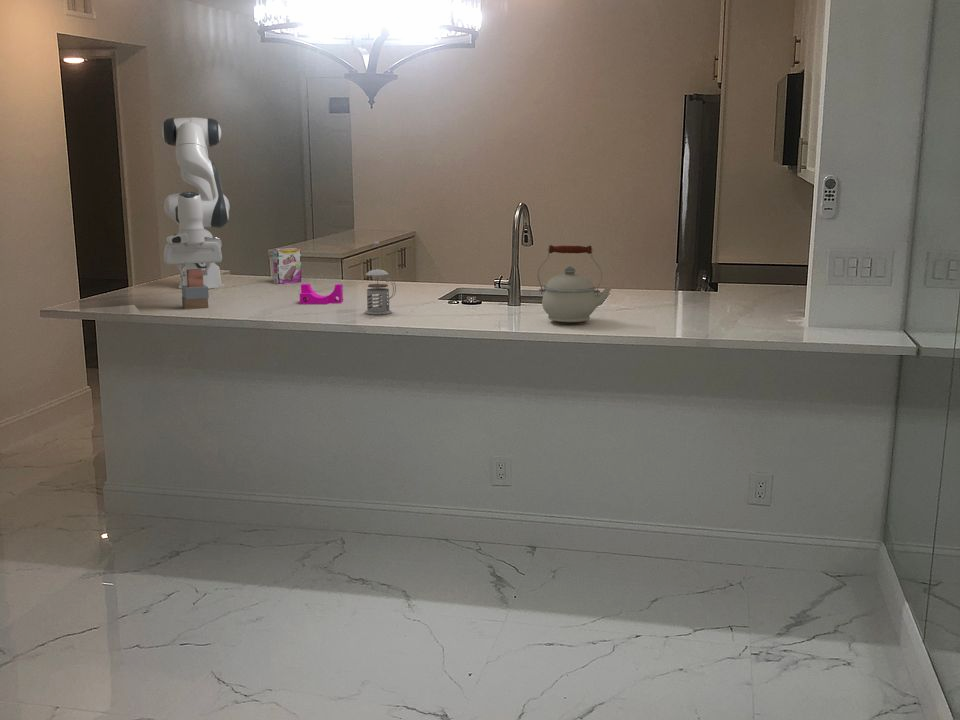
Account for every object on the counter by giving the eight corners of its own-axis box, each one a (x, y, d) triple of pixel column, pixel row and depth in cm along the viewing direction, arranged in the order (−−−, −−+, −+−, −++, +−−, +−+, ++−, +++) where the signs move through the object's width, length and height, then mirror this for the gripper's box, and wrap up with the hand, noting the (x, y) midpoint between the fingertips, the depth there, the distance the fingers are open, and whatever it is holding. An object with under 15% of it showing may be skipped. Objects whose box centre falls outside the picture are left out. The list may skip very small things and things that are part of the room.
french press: (372, 309, 340) (370, 240, 335) (401, 311, 336) (400, 241, 331) (359, 313, 331) (357, 242, 326) (389, 315, 327) (387, 243, 322)
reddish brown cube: (187, 285, 345) (186, 269, 344) (201, 285, 347) (200, 268, 346) (189, 287, 341) (188, 270, 339) (203, 286, 343) (202, 270, 342)
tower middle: (182, 296, 346) (181, 285, 345) (204, 295, 350) (203, 284, 349) (186, 299, 339) (185, 288, 338) (208, 297, 343) (208, 287, 342)
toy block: (300, 305, 351) (299, 285, 349) (303, 303, 357) (303, 283, 356) (339, 305, 350) (339, 285, 349) (343, 303, 356) (342, 283, 355)
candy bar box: (279, 288, 397) (277, 249, 394) (273, 287, 401) (271, 249, 398) (302, 286, 404) (301, 248, 401) (296, 285, 408) (295, 247, 404)
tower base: (182, 307, 347) (181, 296, 346) (204, 305, 351) (204, 295, 350) (185, 310, 340) (185, 299, 339) (208, 308, 344) (207, 297, 343)
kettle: (534, 322, 312) (535, 247, 307) (539, 314, 330) (540, 242, 325) (610, 324, 308) (612, 248, 303) (611, 315, 326) (613, 243, 321)
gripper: (219, 236, 347) (221, 273, 350) (161, 237, 339) (164, 276, 342) (222, 237, 342) (224, 275, 345) (164, 239, 333) (166, 277, 336)
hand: (194, 275), depth 343 cm, fingers open, 6 cm apart
